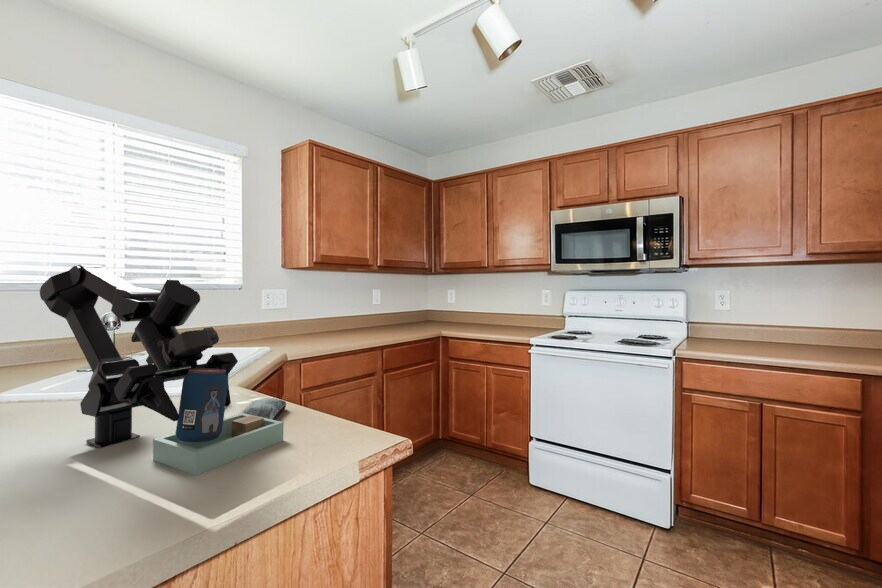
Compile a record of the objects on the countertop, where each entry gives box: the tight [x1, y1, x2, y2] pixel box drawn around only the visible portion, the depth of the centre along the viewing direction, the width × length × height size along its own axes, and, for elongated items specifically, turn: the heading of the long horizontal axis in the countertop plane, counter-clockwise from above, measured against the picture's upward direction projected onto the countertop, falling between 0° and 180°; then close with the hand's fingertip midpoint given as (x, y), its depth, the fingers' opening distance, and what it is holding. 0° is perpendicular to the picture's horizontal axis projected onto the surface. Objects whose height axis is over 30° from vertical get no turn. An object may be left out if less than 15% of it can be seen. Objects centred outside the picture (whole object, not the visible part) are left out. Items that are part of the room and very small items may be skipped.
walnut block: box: [232, 415, 264, 438], centre depth 77 cm, size 4×4×4 cm
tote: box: [152, 413, 284, 476], centre depth 73 cm, size 12×17×4 cm
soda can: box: [175, 368, 229, 444], centre depth 70 cm, size 7×7×12 cm
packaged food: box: [238, 398, 287, 420], centre depth 92 cm, size 9×12×5 cm
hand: (204, 411), depth 68 cm, fingers open, 9 cm apart
